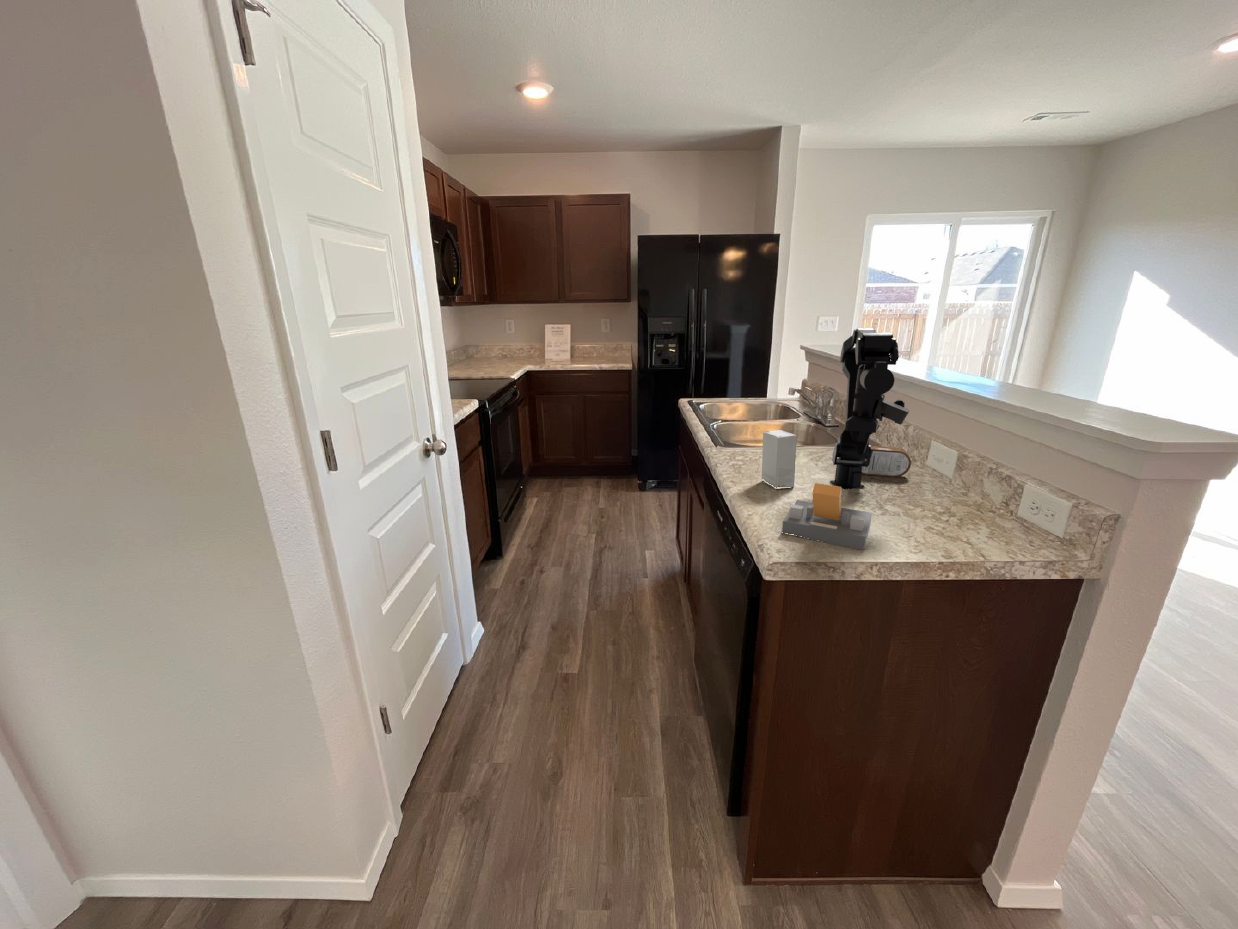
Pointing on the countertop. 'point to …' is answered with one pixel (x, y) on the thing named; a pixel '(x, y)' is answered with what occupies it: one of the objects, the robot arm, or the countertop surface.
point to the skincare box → (779, 458)
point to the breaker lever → (827, 501)
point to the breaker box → (828, 525)
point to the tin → (888, 462)
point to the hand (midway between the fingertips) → (860, 454)
